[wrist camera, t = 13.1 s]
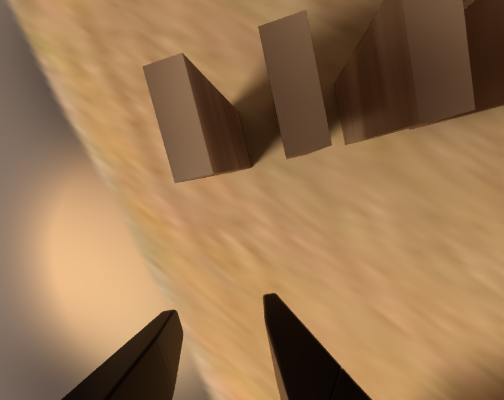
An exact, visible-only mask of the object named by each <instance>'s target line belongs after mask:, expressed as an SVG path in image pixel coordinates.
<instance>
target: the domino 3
mask: <svg viewBox="0 0 504 400" xmlns="http://www.w3.org/2000/svg"><path fill="white" fill-rule="evenodd" d="M334 87H335V92H336V98H337V103H338V109H339V114H340V120H341V125H342V130H343V136H344V141H345V145H347V144H351V143H355V142H360V141H364V140H368V139H371V138H375V137H379V136H382V135H386V134H389V133H393V132H397V131H400V130H404V129H408V128H411V127H415V126H418V125H422V124H426V123H429V122H433V121H436V120H440V119H444V118H447V117H451V116H454V115H458V114H462V113H465V112H469V111H472V110H475V103H474V94H473V85H472V77H471V68H470V59H469V51H468V42H467V33H466V25H465V16H464V7H463V0H385V1H384V3H383V4H382V6H381V8H380V9H379V11H378V12H377V14H376V16H375V17H374V19H373V21H372V22H371V24H370V26H369V27H368V29H367V31H366V32H365V34H364V35H363V37H362V39H361V40H360V42H359V44H358V45H357V47H356V49H355V50H354V52H353V53H352V55H351V57H350V58H349V60H348V62H347V63H346V65H345V67H344V68H343V70H342V72H341V73H340V75H339V76H338V78H337V80H336V81H335V83H334Z"/></svg>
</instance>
